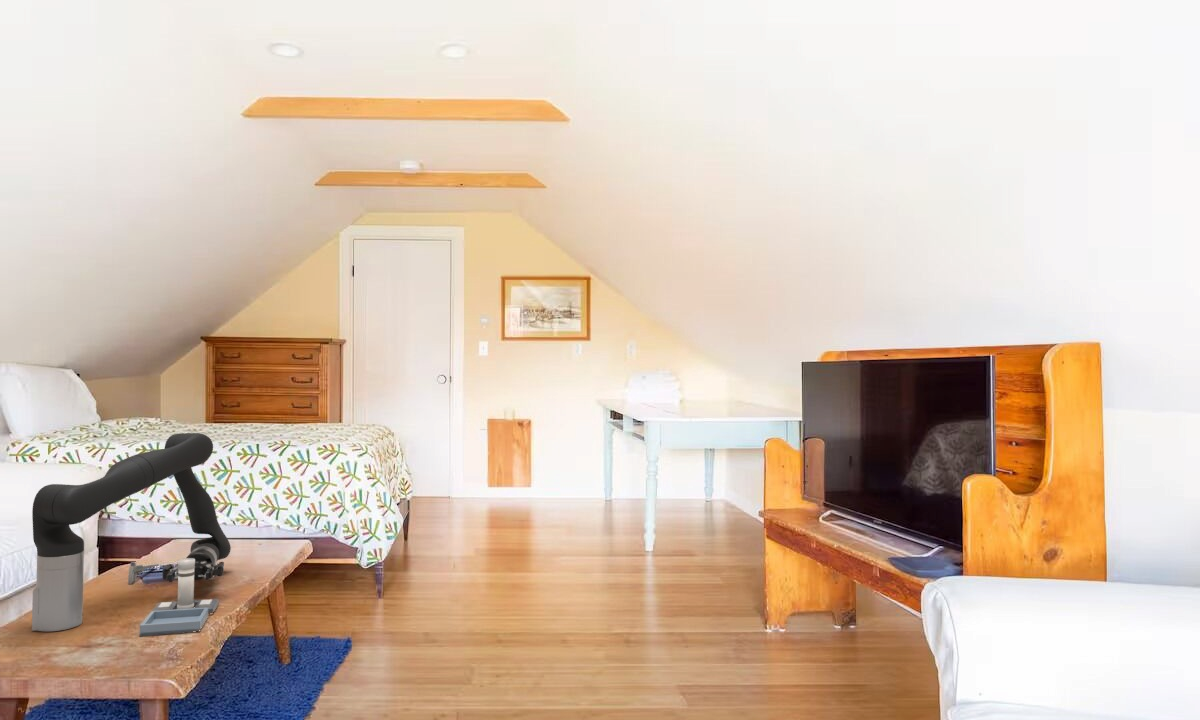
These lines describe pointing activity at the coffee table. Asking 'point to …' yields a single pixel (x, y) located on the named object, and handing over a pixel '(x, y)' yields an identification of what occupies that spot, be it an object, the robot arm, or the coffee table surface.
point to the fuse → (186, 583)
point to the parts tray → (173, 621)
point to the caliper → (137, 571)
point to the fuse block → (207, 603)
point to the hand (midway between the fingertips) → (189, 577)
